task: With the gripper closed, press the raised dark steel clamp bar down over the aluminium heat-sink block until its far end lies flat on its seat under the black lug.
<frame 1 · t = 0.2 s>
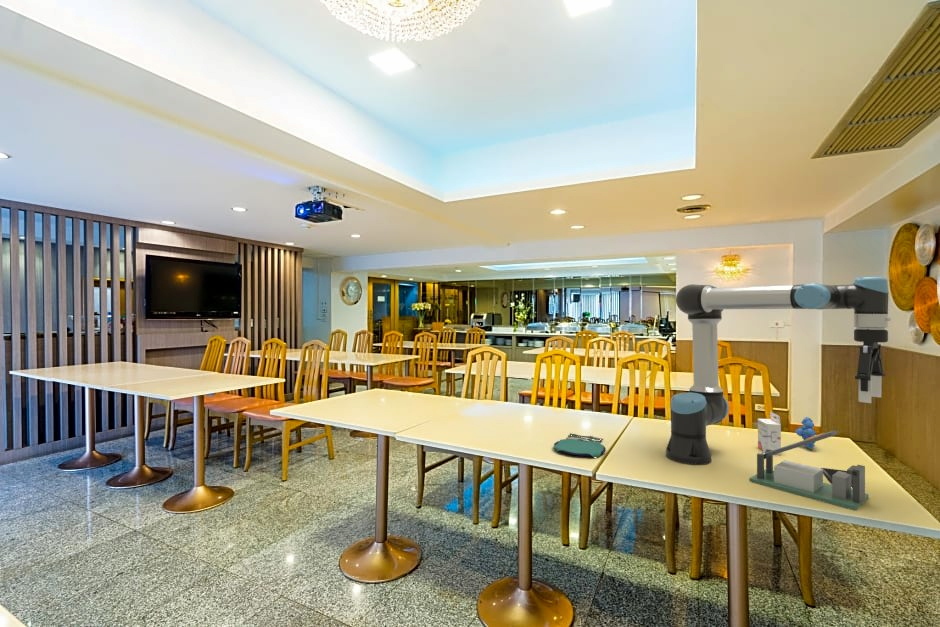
hand: (870, 399, 131), 28 cm above the table, fingers open, 13 cm apart
ink cartridge box: (768, 451, 170), on the table
teal clutch purse: (581, 448, 176), on the table
clamp bar: (796, 445, 135), point 13 cm above the table, hinge at 32.0°
clamp fixture base: (806, 489, 133), on the table
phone: (840, 480, 142), on the table
grapes: (805, 447, 175), on the table
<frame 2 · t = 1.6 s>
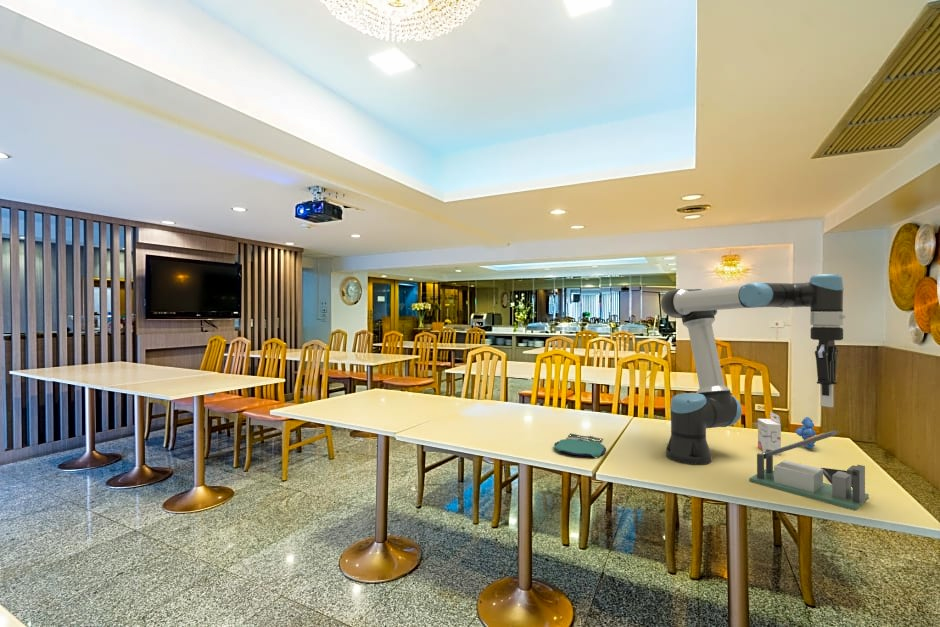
hand: (826, 406, 129), 26 cm above the table, fingers closed
nothing on the table moved.
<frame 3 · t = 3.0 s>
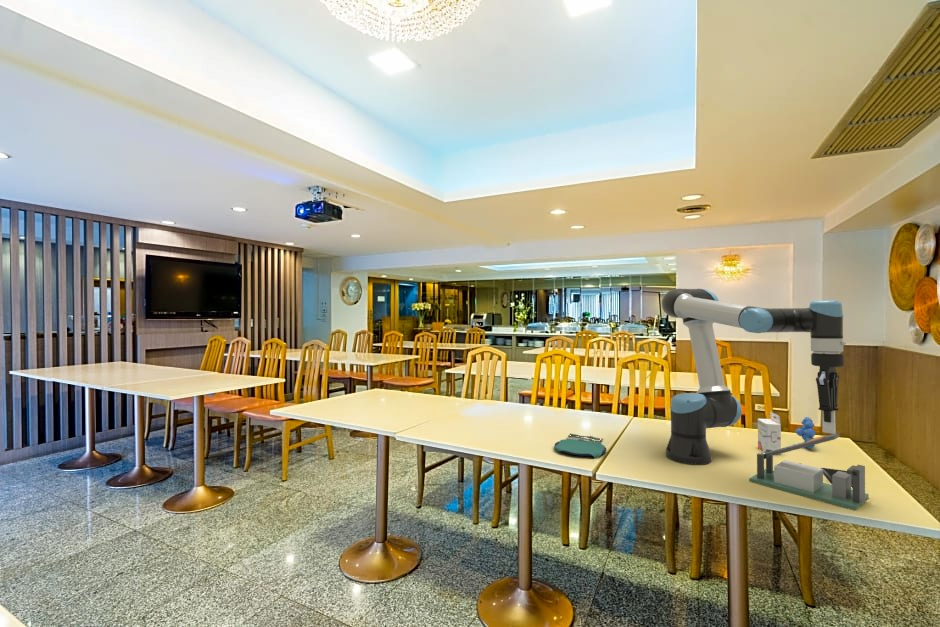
hand: (829, 432, 129), 18 cm above the table, fingers closed
clamp bar: (797, 446, 135), point 12 cm above the table, hinge at 29.4°, touching gripper
everything else where it was.
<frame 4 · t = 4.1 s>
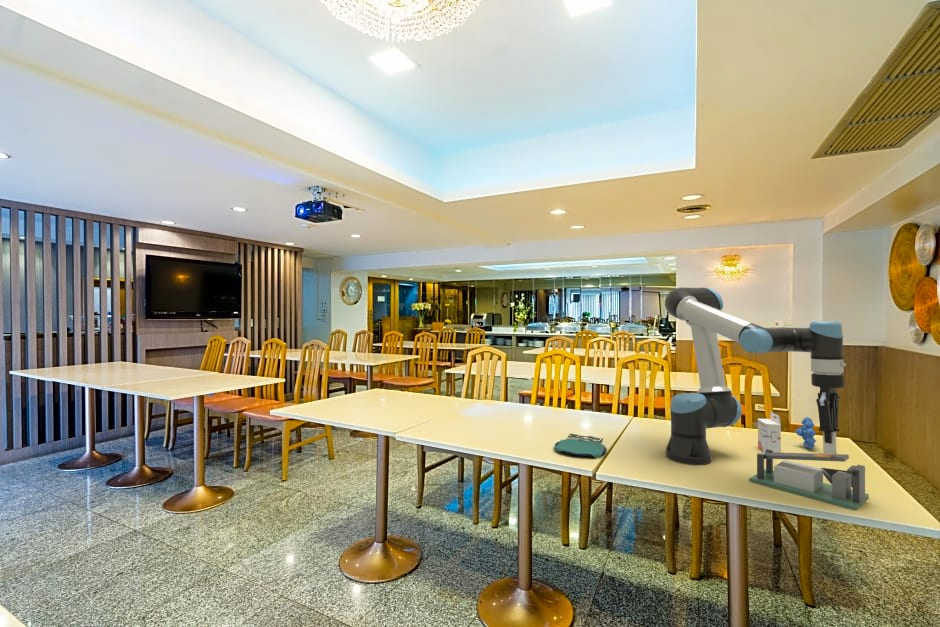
hand: (829, 453, 129), 12 cm above the table, fingers closed
clamp bar: (801, 456, 134), point 10 cm above the table, hinge at 12.2°, touching gripper
everything else where it was.
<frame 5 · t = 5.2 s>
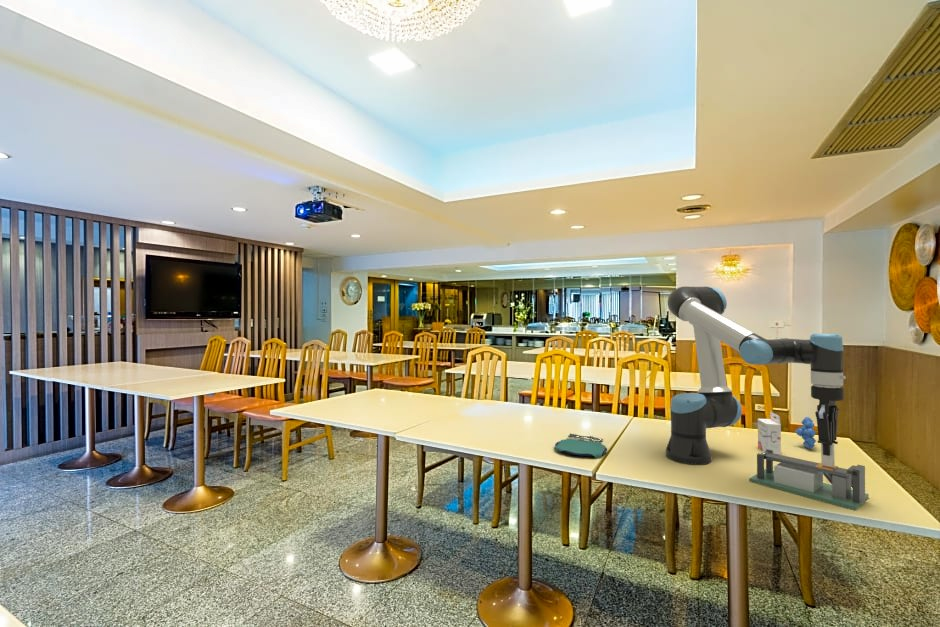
hand: (828, 465, 129), 9 cm above the table, fingers closed
clamp bar: (802, 463, 134), point 8 cm above the table, hinge at 0.4°, touching gripper
everything else where it was.
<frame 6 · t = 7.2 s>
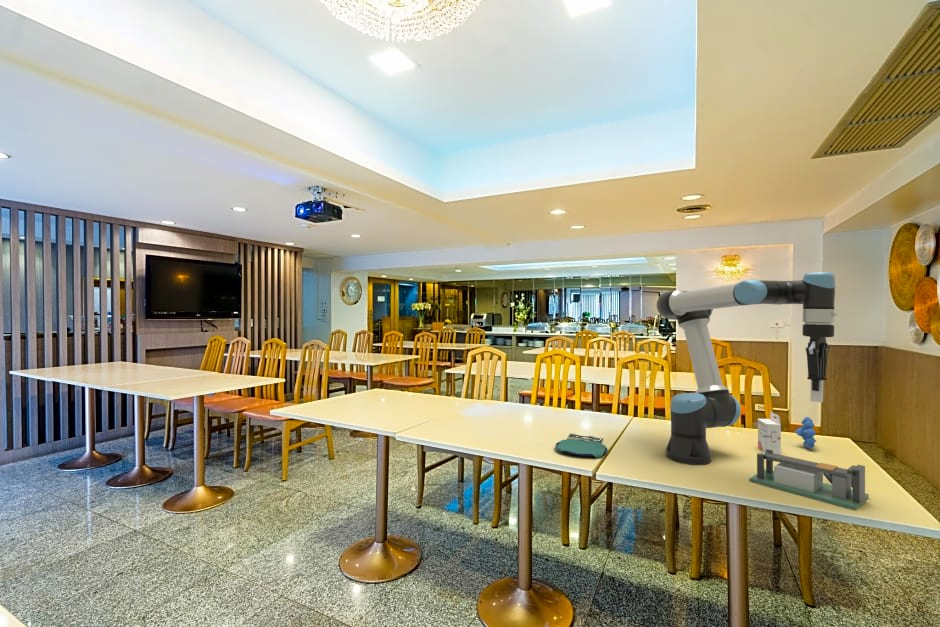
hand: (816, 401, 133), 27 cm above the table, fingers closed
clamp bar: (802, 463, 134), point 8 cm above the table, hinge at 0.2°
everything else where it was.
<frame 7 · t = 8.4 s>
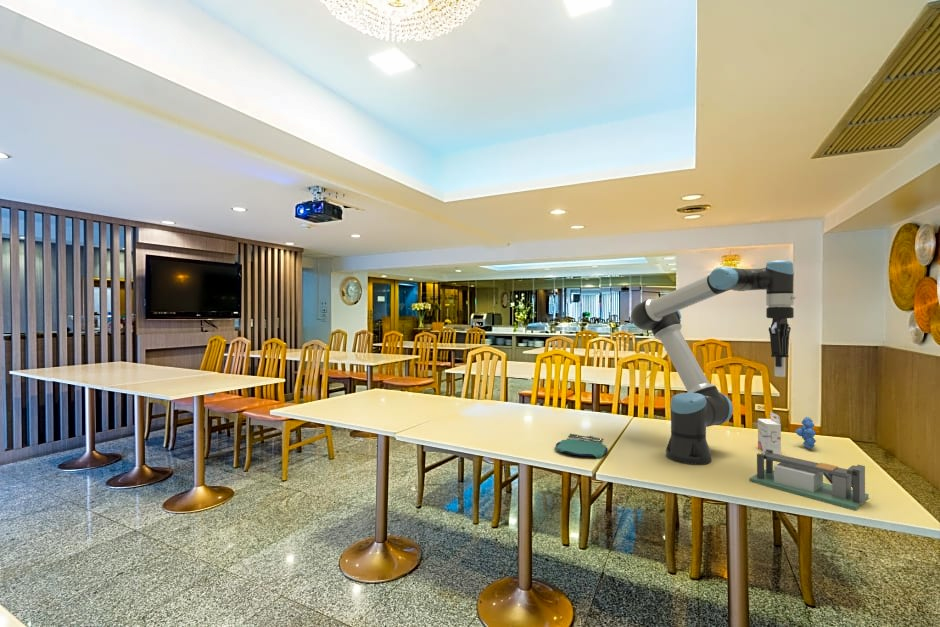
hand: (779, 376, 147), 32 cm above the table, fingers closed
nothing on the table moved.
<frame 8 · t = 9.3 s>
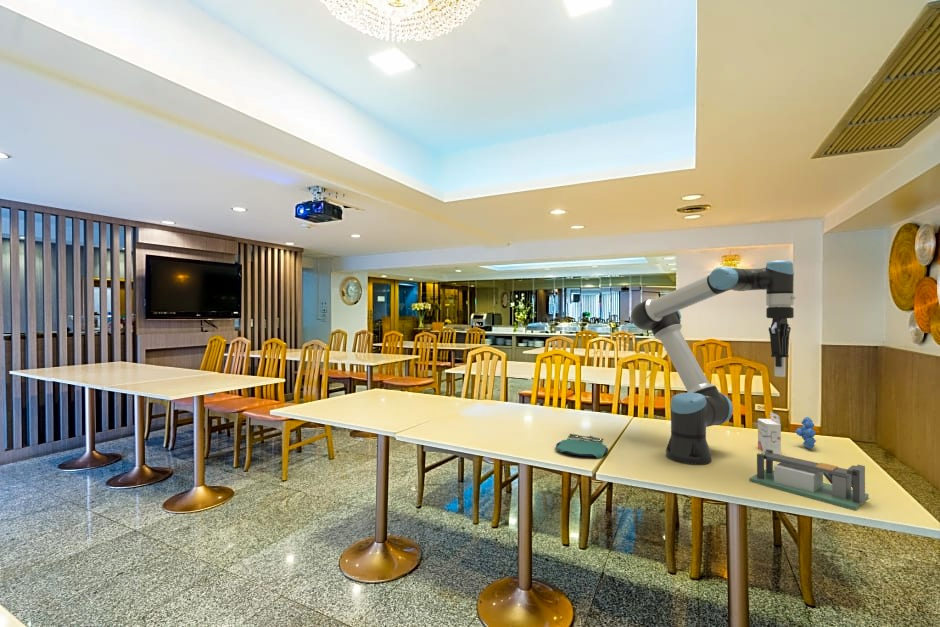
hand: (779, 376, 147), 32 cm above the table, fingers closed
nothing on the table moved.
at the end: clamp bar at +0° (first picture: +32°); the gripper is holding nothing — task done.
